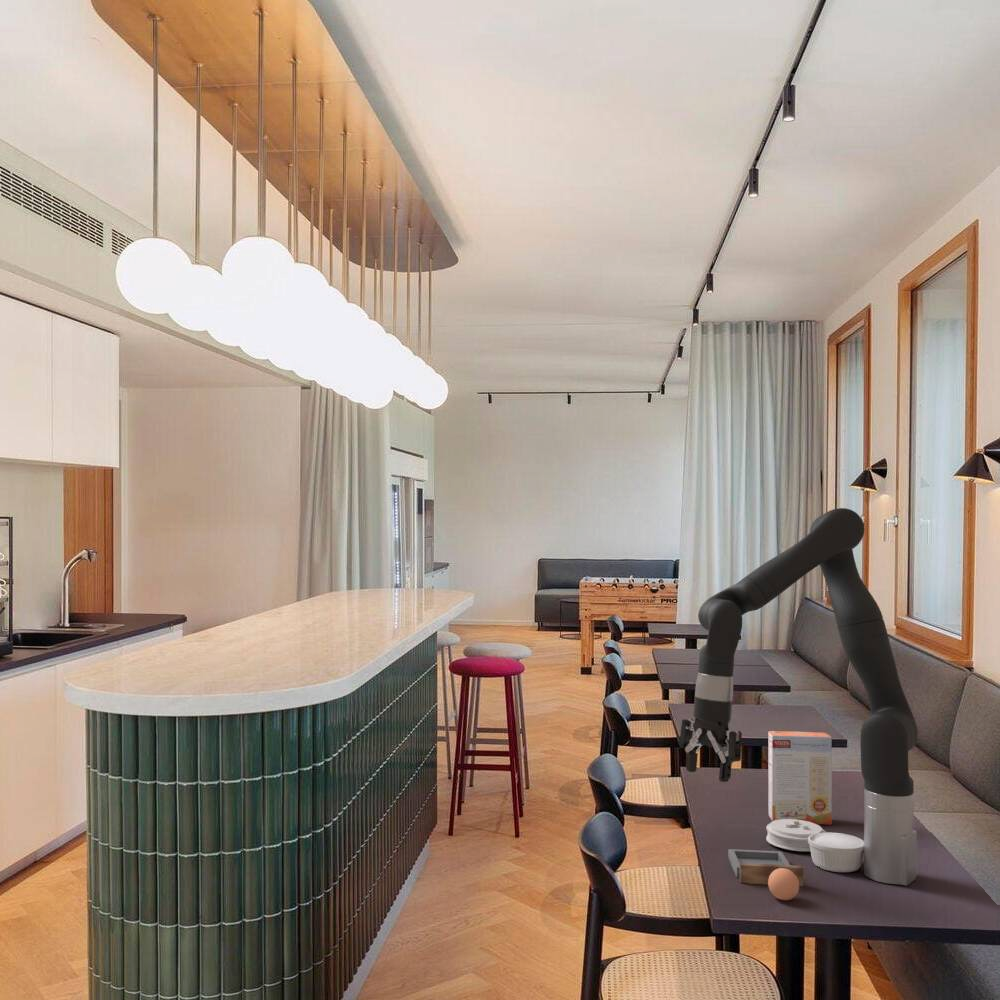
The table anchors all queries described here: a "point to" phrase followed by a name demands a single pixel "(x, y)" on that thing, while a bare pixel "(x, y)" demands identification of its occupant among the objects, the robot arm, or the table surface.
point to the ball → (783, 884)
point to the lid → (791, 833)
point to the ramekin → (836, 851)
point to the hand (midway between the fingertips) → (707, 776)
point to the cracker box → (800, 776)
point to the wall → (765, 872)
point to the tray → (754, 858)
